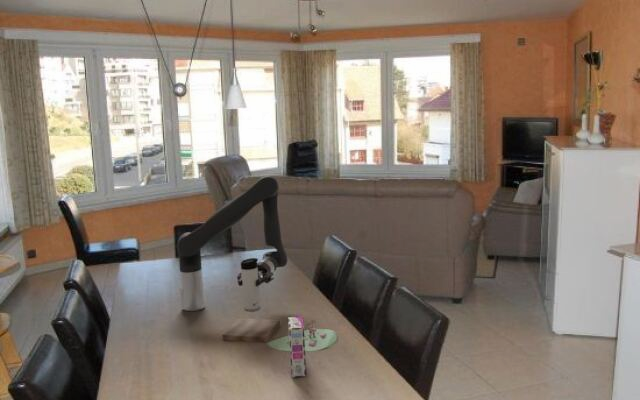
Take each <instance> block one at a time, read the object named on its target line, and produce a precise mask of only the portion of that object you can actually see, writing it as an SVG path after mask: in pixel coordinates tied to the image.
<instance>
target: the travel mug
mask: <svg viewBox="0 0 640 400" xmlns="http://www.w3.org/2000/svg"><path fill="white" fill-rule="evenodd" d="M258 262H259V261H258V258H255V257H252V258H246V259H243V260H242V261H240V273H241V275H242V286H241V287H242V297H243V308H244V312H249V313H254V312H258V311H260V310H261V295H260V294H261V293H260V285H259V286H256V280H257V279H258V269H257V263H258Z"/></svg>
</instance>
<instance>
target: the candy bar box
mask: <svg viewBox="0 0 640 400" xmlns="http://www.w3.org/2000/svg"><path fill="white" fill-rule="evenodd" d="M287 320H288V321H287V324H288V335H289V346H290V351H289V357H290V371H291V378H295V379H296V378H305V377H307V361H306V360H307V359H306V358H307V357H306V351H305V337H304V330H305V326H304V321H303V320H304V319H303V316H301V315H300V316H293V317H292V316H291V317H287Z"/></svg>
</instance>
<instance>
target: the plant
mask: <svg viewBox="0 0 640 400" xmlns="http://www.w3.org/2000/svg"><path fill="white" fill-rule="evenodd" d="M316 321H317V318H315V319H311V320H310V321H309V323H307V324H306V326H304V337H305V352H314V351H321V350H325V349H328V348H331V347H332V346H333V345H334V344H336V342H337V341H338V334H337V333H336V332H335V331H334V330H332V329H327V328H325V329H324V328H315V327H317V326H316ZM313 323H314V324H313ZM312 324H313V325H312ZM267 345H268V346H269V347H270V348H272V349H275V350H278V351H289V352H290V346H289V334H288V335H285V336H283V337H280V338H278V339H274V340H271V341H269V342H267Z"/></svg>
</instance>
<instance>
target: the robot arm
mask: <svg viewBox="0 0 640 400" xmlns="http://www.w3.org/2000/svg"><path fill="white" fill-rule="evenodd" d="M279 189H280V187H279V183H278V181H277V180H276V179H275V178H274V177H273V176H270V175H266V176H263V177H261V178H259V179H258V180H257V181H256V182H255V183H254V184H253V185H251V186H250V188H248V189H247V190H246V191H245V192H243V193H242V194H240V195H238V196H237V197H235V198H233V199H232V200H230V201H229V202H227V203H226V204H224V205H222V206H221V207H220V208H219V209H217V210H216V211H215V212H214V213H213V214H211V216H210V217H209V218H207V220H205V222H204V223H202V225H200V226H199V227H198V228H196V229H195V230H193V231H191V232H189V231H188V232H184V233H183V234H181V235H180V236H179V238H178V241H177V244H176V249H177V252H178V258H179V275H180V283H181V284H180V285H181V287H180V288H179V291H180V292H179V293H180V294H179V295H180V303H181V304H180V305H181V310H183V311H187V312H195V311H200V310H203V309H204V308H205V307H206V301H205V291H204V290H205V289H204V280H203V279H204V278H203V268H202V267H203V266H202V256H201V255H202V254H201V249H203V247H205V245H207V244H208V243H210V241H212V240H213V239H215V238H217V237H218V236H219V235H221V234H223V233H224V232H226V231H227V230H229V229H230V228H232V227H234V225H236V224H237V223H238V222H240V221H241V220H242V219H243V218H245V217H246V215H247V214H248V213H249V212H250V211H251V210H253V208H254V207H256V206H257V205H258V204H260V203H262V209H263V210H262V211H263V233H264V234H263V235H264V242H265V245H266V246H268V247H272V248H273V247H274V249H275V250H274V251H268V252H265V253H264V254H263V256H262V259H261V260H260V261H257V269H258V279H257V280H256V286H259V287H260V286H261V285H262V284H264V283H265V284H269V283H270V282H272V281H273V280H275V279H274V278H275V277H274V272H276V270H277V268H284V267H285V266H286V265H287V263H288V256H287V253H286V251H285V248H284V244H283V242H282V234H281V225H280V219H279V218H280V217H279V212H278V211H279V210H278V197H279V196H278V195H279V194H278V193H279ZM236 278H237V279H236V280H237V283H238V286H239V287H242V275H241V272H239V273H238V275H237V276H236Z"/></svg>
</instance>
